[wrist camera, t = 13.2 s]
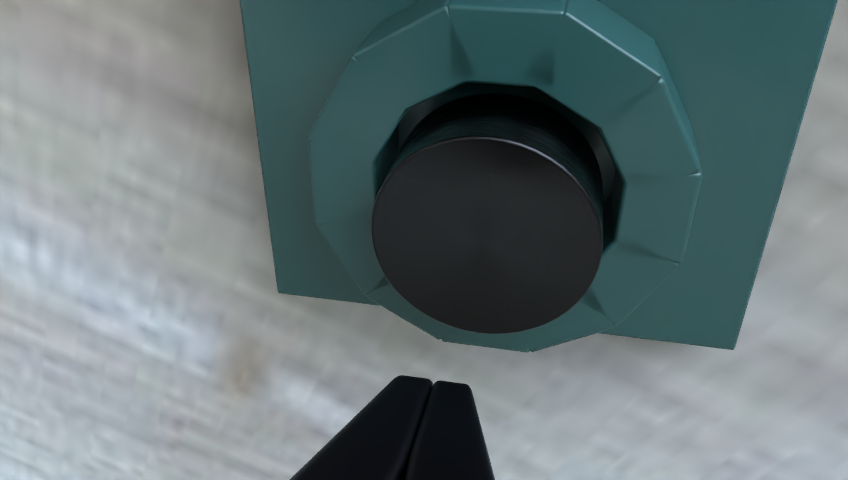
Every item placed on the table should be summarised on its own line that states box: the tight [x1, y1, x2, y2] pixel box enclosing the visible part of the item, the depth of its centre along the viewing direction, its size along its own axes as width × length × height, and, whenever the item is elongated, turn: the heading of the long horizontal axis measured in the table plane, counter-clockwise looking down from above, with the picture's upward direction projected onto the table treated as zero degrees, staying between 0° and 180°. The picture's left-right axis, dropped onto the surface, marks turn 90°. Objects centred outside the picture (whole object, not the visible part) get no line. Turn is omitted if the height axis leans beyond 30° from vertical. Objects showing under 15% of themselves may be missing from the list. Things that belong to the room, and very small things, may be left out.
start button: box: [371, 93, 603, 334], centre depth 12 cm, size 4×4×2 cm
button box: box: [240, 0, 837, 352], centre depth 14 cm, size 10×8×4 cm
